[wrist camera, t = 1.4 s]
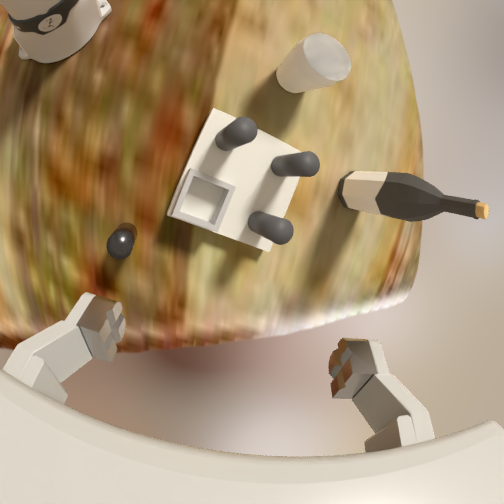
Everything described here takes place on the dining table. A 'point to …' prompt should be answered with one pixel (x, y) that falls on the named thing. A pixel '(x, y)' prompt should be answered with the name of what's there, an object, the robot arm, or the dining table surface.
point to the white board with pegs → (240, 182)
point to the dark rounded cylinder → (122, 241)
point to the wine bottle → (402, 197)
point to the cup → (314, 64)
